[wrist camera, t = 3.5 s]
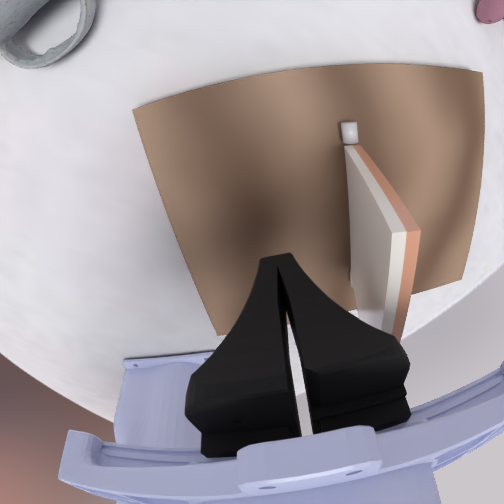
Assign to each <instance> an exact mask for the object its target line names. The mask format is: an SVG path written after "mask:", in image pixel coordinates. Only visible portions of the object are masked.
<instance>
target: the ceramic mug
mask: <svg viewBox="0 0 504 504" xmlns="http://www.w3.org/2000/svg"><path fill="white" fill-rule="evenodd" d="M48 1H49V0H0V53H1V55H2V56H3V57H4V58H5V59H6V60H8V61H9V62H10V63H12V64H13V65H16V66H19V67H21V68H25V69H31V68H39V67H44V66H48V65H50V64H52V63H54V62H55V61H57V60H59V59H60V58H62V57H63V56H65V55H66V54H67V53H68V52H69V51H71V50H72V49H73V48H74V47H76V46H77V45H78V44H79V43H80V42H81V40H82V39H83V38H84V37H85V35H86V34H87V32H88V31H89V29H90V27H91V25H92V22H93V18H94V14H95V8H96V3H95V0H80V3H81V13H80V19H79V23H78V26H77V32H76V33H75V34H74V35H73V36H71V37H70V38H69V39H67V40H66V41H65V42H63V43H62V44H60V45H58V46H57V47H55V48H50V49H49V50H48V51H47V52H46V53H45V54H44V55H42V56H40V55H32V54H30V53H28V52H26V51H24V50H23V49H22V48H20V47H19V46H18V45H17V44H16V43H15V42H14V41H13V37H14V36H15V35H16V34H17V32H18V31H19V30H20V29H21V28H22V27H23V26H24V25H25V24H26V23H27V22H28V21H29V19H30V18H31V17H32V16H33V15H34V14H35V13H36V12H37V11H38V10H39V9H40V8H41V7H42V6H43V5H45V4H46V3H47V2H48Z"/></svg>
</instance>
